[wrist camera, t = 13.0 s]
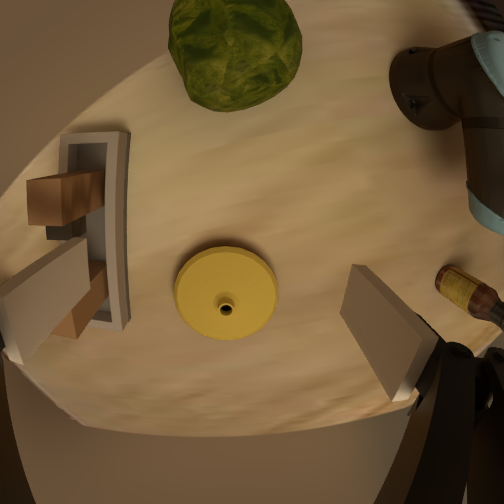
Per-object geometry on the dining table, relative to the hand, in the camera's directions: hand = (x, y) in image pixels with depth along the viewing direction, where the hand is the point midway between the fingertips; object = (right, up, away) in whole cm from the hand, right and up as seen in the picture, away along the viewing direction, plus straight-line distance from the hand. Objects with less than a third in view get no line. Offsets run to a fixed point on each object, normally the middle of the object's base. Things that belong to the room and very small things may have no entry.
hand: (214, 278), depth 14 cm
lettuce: (-2, +31, +22) cm, 38 cm away
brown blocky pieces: (-22, +5, +28) cm, 36 cm away
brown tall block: (-22, +10, +25) cm, 34 cm away
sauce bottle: (+41, -4, +37) cm, 55 cm away
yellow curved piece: (-2, -5, +33) cm, 34 cm away
